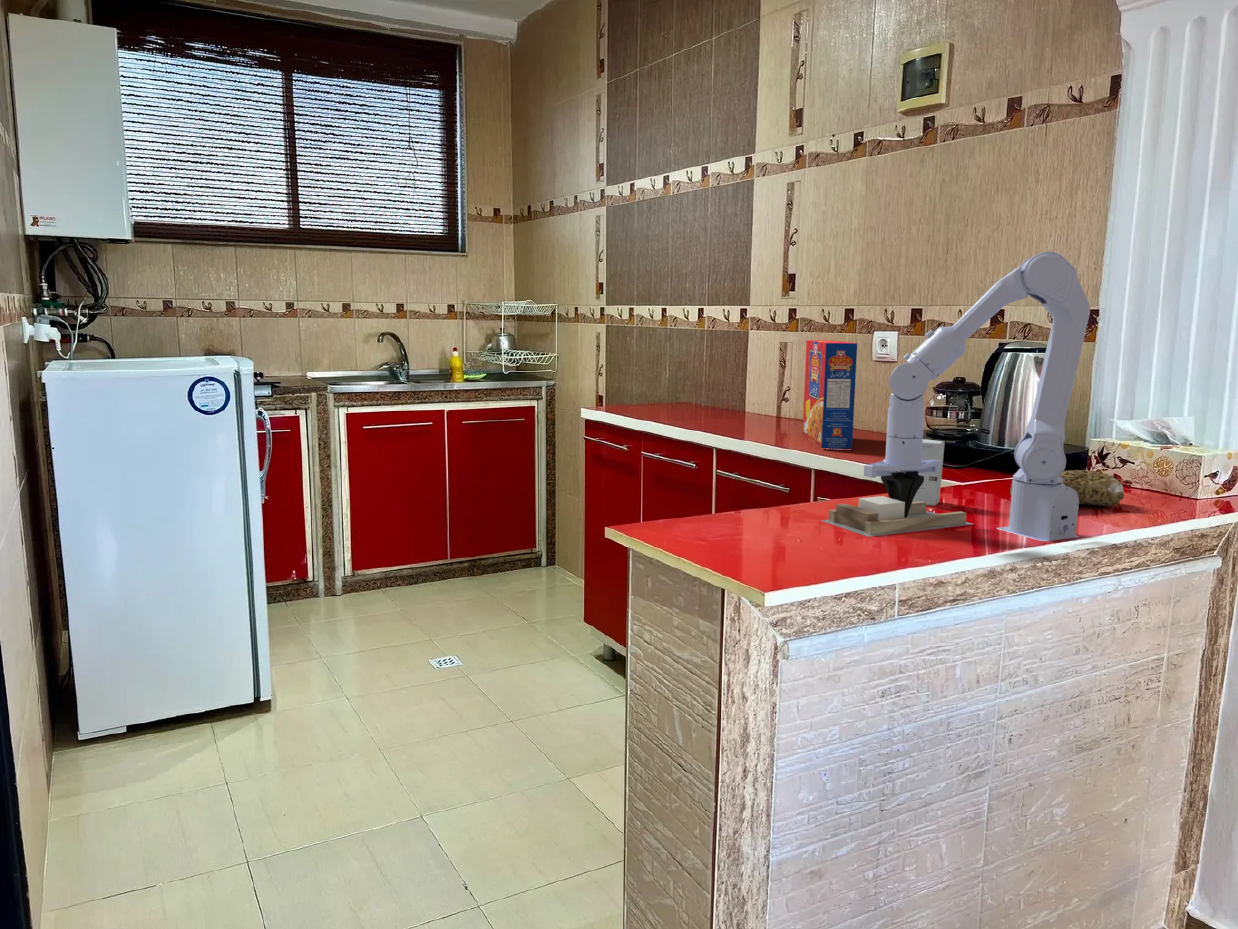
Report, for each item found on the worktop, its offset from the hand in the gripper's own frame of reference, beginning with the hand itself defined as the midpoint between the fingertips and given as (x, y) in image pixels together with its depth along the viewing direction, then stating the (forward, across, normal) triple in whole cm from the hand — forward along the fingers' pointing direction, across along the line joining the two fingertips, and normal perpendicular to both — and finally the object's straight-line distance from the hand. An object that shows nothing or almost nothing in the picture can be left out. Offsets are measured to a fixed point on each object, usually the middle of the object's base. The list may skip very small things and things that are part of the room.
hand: (899, 517), depth 148 cm
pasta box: (+2, -50, -87) cm, 100 cm away
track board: (+1, +1, 0) cm, 2 cm away
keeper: (+1, +4, 0) cm, 4 cm away
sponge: (+2, -40, -1) cm, 40 cm away
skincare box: (+2, -15, -12) cm, 19 cm away
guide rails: (+1, +1, 0) cm, 2 cm away
